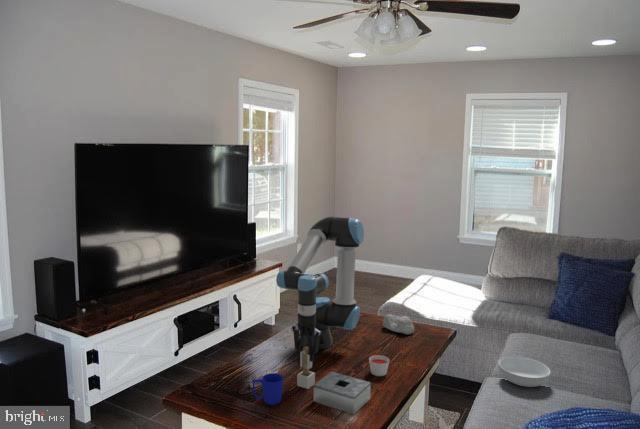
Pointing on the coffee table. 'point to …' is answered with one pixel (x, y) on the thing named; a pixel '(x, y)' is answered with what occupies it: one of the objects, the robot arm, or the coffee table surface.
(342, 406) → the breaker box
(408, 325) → the decorative stone
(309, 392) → the coffee table surface
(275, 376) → the mug
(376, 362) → the candle
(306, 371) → the peg
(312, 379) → the hollow square box
